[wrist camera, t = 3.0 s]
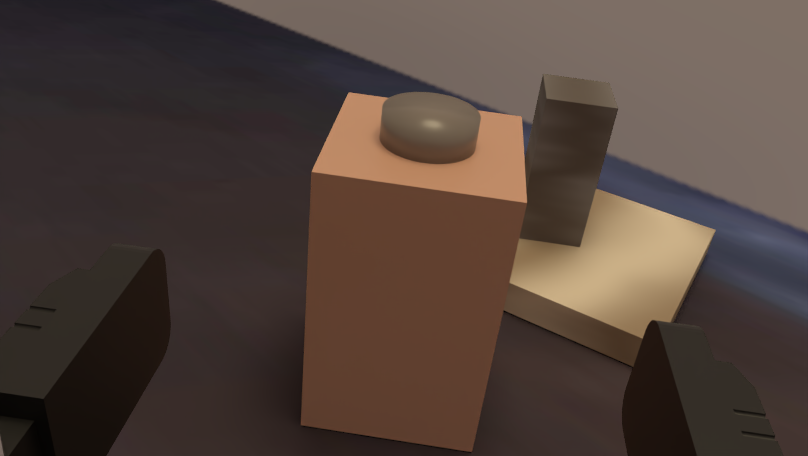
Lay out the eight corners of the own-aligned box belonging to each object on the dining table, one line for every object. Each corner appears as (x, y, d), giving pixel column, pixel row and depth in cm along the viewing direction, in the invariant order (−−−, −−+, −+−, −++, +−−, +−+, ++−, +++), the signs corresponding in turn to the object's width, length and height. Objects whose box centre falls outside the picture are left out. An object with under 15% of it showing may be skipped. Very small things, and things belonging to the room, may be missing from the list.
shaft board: (361, 248, 36) (376, 79, 31) (465, 167, 44) (489, 25, 39) (648, 373, 30) (716, 190, 26) (706, 254, 38) (765, 100, 34)
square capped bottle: (301, 425, 26) (312, 139, 20) (333, 317, 31) (350, 64, 25) (471, 452, 26) (534, 170, 20) (476, 339, 31) (527, 89, 25)
